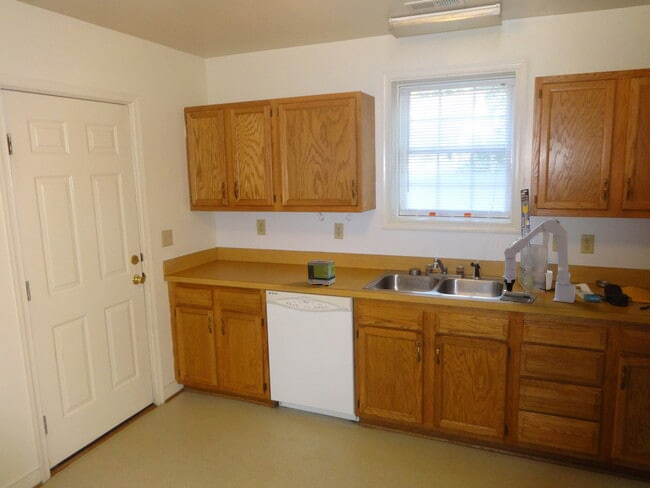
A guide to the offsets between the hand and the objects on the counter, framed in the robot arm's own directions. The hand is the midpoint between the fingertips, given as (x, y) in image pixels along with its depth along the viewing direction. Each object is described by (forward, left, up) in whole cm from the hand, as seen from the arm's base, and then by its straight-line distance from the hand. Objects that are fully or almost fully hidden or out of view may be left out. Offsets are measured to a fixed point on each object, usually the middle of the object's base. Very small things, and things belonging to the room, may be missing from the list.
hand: (509, 292), depth 265 cm
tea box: (+110, +23, -2) cm, 113 cm away
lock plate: (-6, +5, -1) cm, 8 cm away
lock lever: (-4, +3, -1) cm, 5 cm away
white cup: (-15, -23, -2) cm, 27 cm away
